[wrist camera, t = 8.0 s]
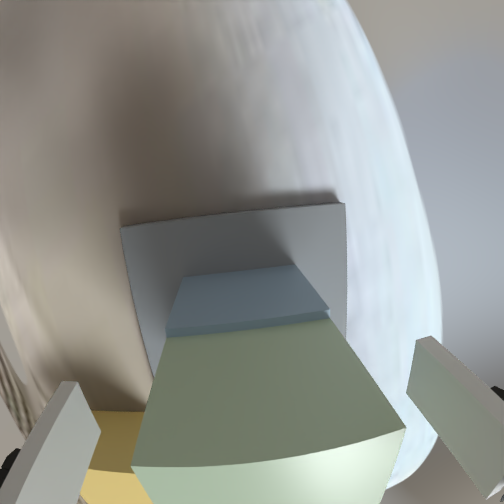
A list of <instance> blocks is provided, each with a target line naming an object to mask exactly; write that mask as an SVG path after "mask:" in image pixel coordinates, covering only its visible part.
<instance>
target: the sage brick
mask: <svg viewBox="0 0 504 504" xmlns="http://www.w3.org/2000/svg"><path fill="white" fill-rule="evenodd" d="M405 431H406V426H405V425H404V423H403V422H402V420H401V419H400V417H399V416H398V414H397V413H396V411H395V410H394V409H393V407H392V406H391V404H390V403H389V401H388V400H387V398H386V397H385V395H384V394H383V392H382V391H381V390H380V388H379V387H378V385H377V384H376V382H375V381H374V379H373V378H372V377H371V375H370V374H369V372H368V371H367V369H366V368H365V367H364V365H363V364H362V362H361V361H360V359H359V358H358V357H357V355H356V354H355V352H354V351H353V349H352V348H351V347H350V345H349V344H348V342H347V341H346V340H345V338H344V337H343V335H342V334H341V333H340V331H339V330H338V328H337V327H336V326H335V324H334V323H333V321H332V320H331V319H330V318H327V319H321V320H315V321H308V322H302V323H295V324H288V325H281V326H274V327H266V328H258V329H250V330H242V331H233V332H224V333H214V334H204V335H193V336H182V337H169V338H166V341H165V344H164V347H163V351H162V354H161V357H160V361H159V364H158V367H157V371H156V374H155V377H154V381H153V384H152V388H151V391H150V395H149V398H148V402H147V405H146V409H145V412H144V416H143V420H142V423H141V427H140V431H139V435H138V438H137V442H136V446H135V450H134V454H133V458H132V462H131V468H132V470H133V471H134V473H135V475H136V476H137V478H138V480H139V481H140V483H141V485H142V486H143V488H144V490H145V491H146V493H147V494H148V496H149V498H150V499H151V501H152V502H153V504H380V501H381V499H382V497H383V494H384V492H385V489H386V487H387V484H388V481H389V479H390V476H391V473H392V471H393V468H394V465H395V462H396V459H397V456H398V453H399V450H400V447H401V444H402V441H403V438H404V434H405Z"/></svg>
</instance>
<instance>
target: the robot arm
mask: <svg viewBox="0 0 504 504" xmlns="http://www.w3.org/2000/svg"><path fill="white" fill-rule="evenodd" d="M406 393H407V395H408V396H409V397H410V399H411V400H412V401H413V402H414V404H415V405H416V406H417V408H418V409H419V410H420V411H421V413H422V414H423V415H424V417H425V418H426V419H427V421H428V422H429V423H430V425H431V426H432V427H433V429H434V430H435V431H436V432H437V434H438V435H439V436H440V438H441V439H442V440H443V442H444V443H445V444H446V446H447V447H448V448H449V450H450V451H451V453H452V454H453V455H454V457H455V458H456V459H457V461H458V462H459V463H460V465H461V466H462V467H463V469H464V470H465V471H466V473H467V474H468V476H469V477H470V478H471V480H472V481H473V483H474V484H475V485H476V486H477V488H478V489H479V491H480V492H481V494H482V495H483V497H484V498H485V499H488V498H489V497H491V496H492V495H494V494H495V493H497V492H498V491H500V490H501V489H502V488H503V487H504V390H502V389H500V388H498V387H496V386H494V387H492V388H489V387H488V386H487V385H486V384H485V383H484V382H483V381H482V380H481V379H479V378H478V377H477V376H476V375H475V374H474V373H473V372H472V371H471V370H469V369H468V368H467V367H466V366H465V365H464V364H463V363H462V362H461V361H460V360H458V359H457V358H456V357H455V356H454V355H453V354H452V353H450V352H449V351H448V350H447V349H446V348H445V347H444V346H442V345H441V344H440V343H439V342H438V341H437V340H436V339H435V338H433V337H432V336H428V337H425V338H421V339H418V340H416V344H415V350H414V356H413V361H412V367H411V372H410V377H409V382H408V386H407V391H406ZM100 434H101V430H100V428H99V426H98V424H97V422H96V420H95V418H94V416H93V414H92V412H91V410H90V408H89V406H88V404H87V401H86V399H85V397H84V395H83V393H82V390H81V388H80V386H79V383H78V382H76V381H62V382H61V383H60V385H59V386H58V388H57V390H56V391H55V393H54V394H53V396H52V398H51V399H50V401H49V402H48V404H47V406H46V407H45V409H44V411H43V412H42V414H41V416H40V417H39V419H38V421H37V422H36V424H35V426H34V427H33V429H32V431H31V433H30V434H29V436H28V438H27V440H26V442H25V443H24V445H23V447H22V449H18V448H16V449H15V450H14V451H13V452H11V453H10V454H9V455H8V456H7V457H6V459H5V461H4V463H3V465H2V466H1V467H2V469H0V504H77V500H78V497H79V494H80V491H81V488H82V485H83V482H84V479H85V476H86V473H87V470H88V467H89V464H90V461H91V458H92V456H93V453H94V450H95V447H96V444H97V442H98V439H99V436H100ZM503 501H504V495H503V496H502V498H501V501H500V502H503Z"/></svg>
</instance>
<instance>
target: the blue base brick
mask: <svg viewBox="0 0 504 504" xmlns="http://www.w3.org/2000/svg"><path fill="white" fill-rule="evenodd" d="M327 318H330V308H329V307H328V306H327V305H326V303H325V302H324V301H323V299H322V298H321V297H320V295H319V294H318V293H317V291H316V290H315V289H314V288H313V286H312V285H311V284H310V282H309V281H308V280H307V279H306V277H305V276H304V275H303V273H302V272H301V271H300V269H299V268H298V267H297V266H296V264H294V265H285V266H277V267H269V268H260V269H252V270H243V271H234V272H225V273H217V274H208V275H198V276H189V277H183V279H182V282H181V285H180V287H179V290H178V293H177V296H176V299H175V301H174V304H173V307H172V310H171V313H170V315H169V318H168V321H167V324H166V327H165V333H166V337H167V338H169V337H182V336H193V335H204V334H214V333H224V332H233V331H242V330H250V329H258V328H266V327H274V326H281V325H288V324H295V323H302V322H308V321H315V320H321V319H327Z"/></svg>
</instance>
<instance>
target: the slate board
mask: <svg viewBox="0 0 504 504" xmlns="http://www.w3.org/2000/svg"><path fill="white" fill-rule="evenodd" d="M120 233H121V239H122V245H123V250H124V256H125V261H126V266H127V272H128V276H129V281H130V286H131V291H132V295H133V300H134V304H135V308H136V313H137V317H138V321H139V325H140V329H141V333H142V337H143V341H144V344H145V348H146V352H147V355H148V359H149V362H150V366H151V369H152V373H153V376H154V377H155V374H156V371H157V367H158V364H159V361H160V357H161V354H162V351H163V347H164V344H165V341H166V338H167V337H166V333H165V327H166V324H167V321H168V318H169V315H170V313H171V310H172V307H173V304H174V301H175V299H176V296H177V293H178V290H179V287H180V285H181V282H182V279H183V277H189V276H198V275H208V274H217V273H225V272H234V271H243V270H252V269H260V268H269V267H277V266H285V265H294V264H296V266H297V267H298V268H299V269H300V271H301V272H302V273H303V275H304V276H305V277H306V279H307V280H308V281H309V282H310V284H311V285H312V286H313V288H314V289H315V290H316V291H317V293H318V294H319V295H320V297H321V298H322V299H323V301H324V302H325V303H326V305H327V306H328V307H329V308H330V319H331V320H332V321H333V323H334V324H335V326H336V327H337V328H338V330H339V331H340V333H341V334H342V335H343V337H344V338H345V340H346V322H347V239H346V212H345V203H341V202H337V203H324V204H312V205H301V206H290V207H279V208H269V209H259V210H249V211H240V212H230V213H221V214H213V215H204V216H196V217H188V218H179V219H172V220H164V221H156V222H149V223H142V224H134V225H127V226H123V227H121V228H120Z"/></svg>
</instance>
